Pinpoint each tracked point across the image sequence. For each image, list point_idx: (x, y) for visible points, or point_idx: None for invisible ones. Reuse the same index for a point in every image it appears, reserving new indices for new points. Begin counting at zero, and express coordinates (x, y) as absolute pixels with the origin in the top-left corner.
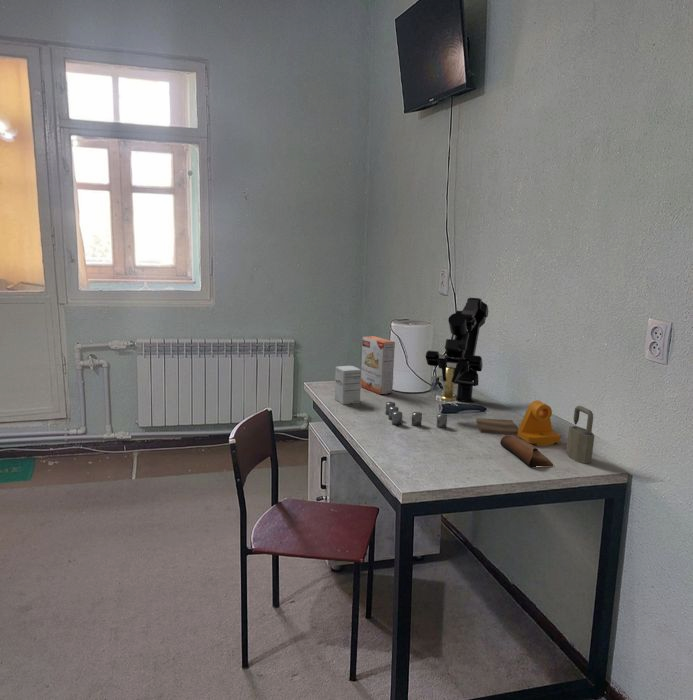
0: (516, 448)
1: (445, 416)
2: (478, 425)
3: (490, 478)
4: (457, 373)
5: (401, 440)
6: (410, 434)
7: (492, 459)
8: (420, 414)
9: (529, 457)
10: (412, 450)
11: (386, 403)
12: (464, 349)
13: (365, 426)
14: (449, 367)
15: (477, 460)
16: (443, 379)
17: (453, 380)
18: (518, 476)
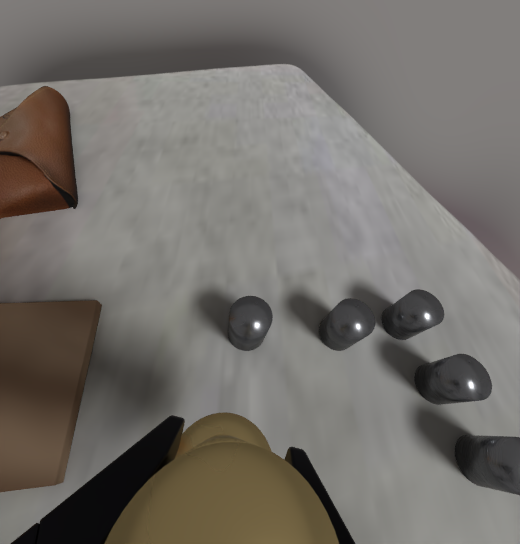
0: (61, 129)
1: (237, 302)
2: (83, 376)
3: (168, 84)
4: (76, 504)
5: (343, 204)
6: (333, 244)
7: (138, 137)
8: (339, 304)
9: (57, 95)
10: (307, 160)
11: None
12: None
13: (467, 282)
14: None
15: (174, 132)
16: (299, 449)
17: (177, 420)
18: (113, 88)
